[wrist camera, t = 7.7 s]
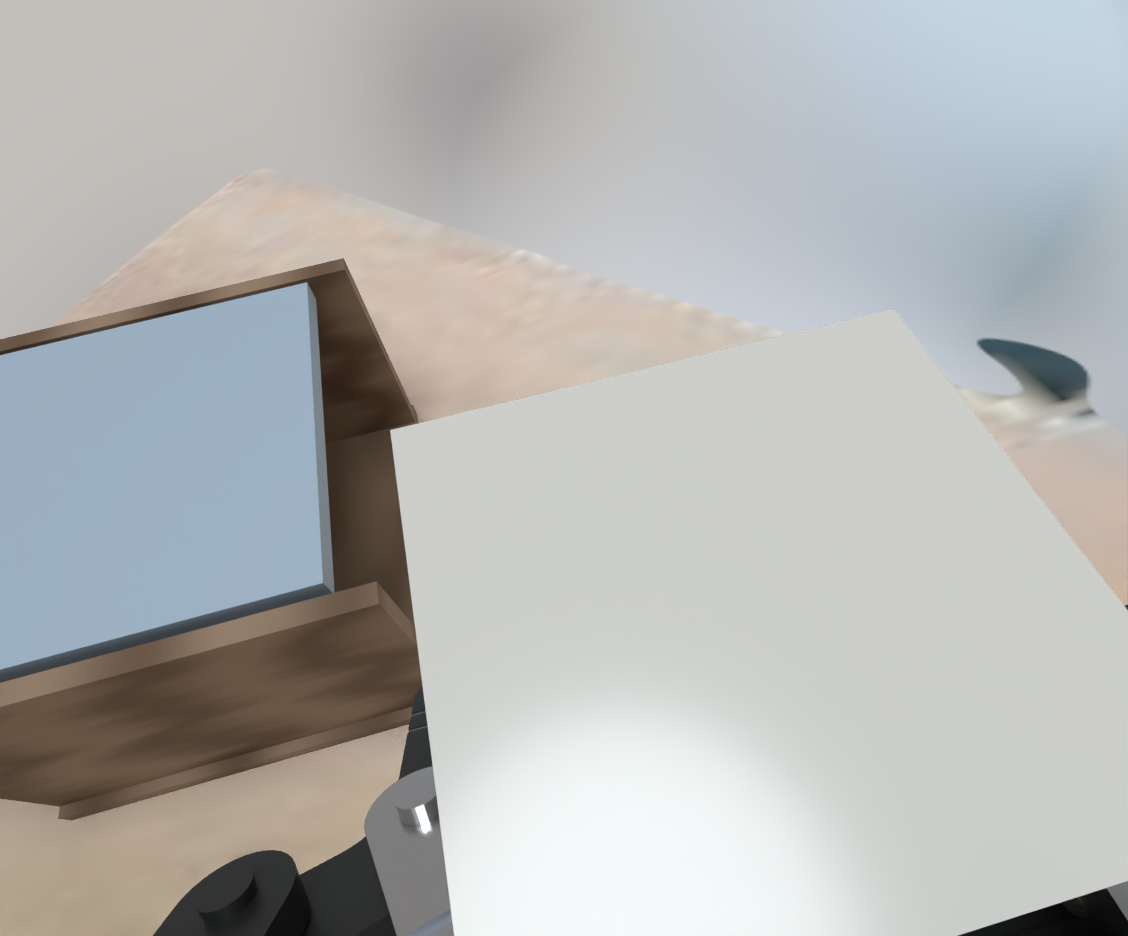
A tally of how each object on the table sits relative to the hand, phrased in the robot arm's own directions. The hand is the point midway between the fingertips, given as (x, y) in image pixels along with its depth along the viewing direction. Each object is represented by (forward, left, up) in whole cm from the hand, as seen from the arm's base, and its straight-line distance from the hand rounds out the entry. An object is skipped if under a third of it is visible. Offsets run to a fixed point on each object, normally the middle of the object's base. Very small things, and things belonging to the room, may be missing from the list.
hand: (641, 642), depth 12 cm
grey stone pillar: (0, -2, -5) cm, 6 cm away
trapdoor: (-19, +14, -9) cm, 26 cm away
